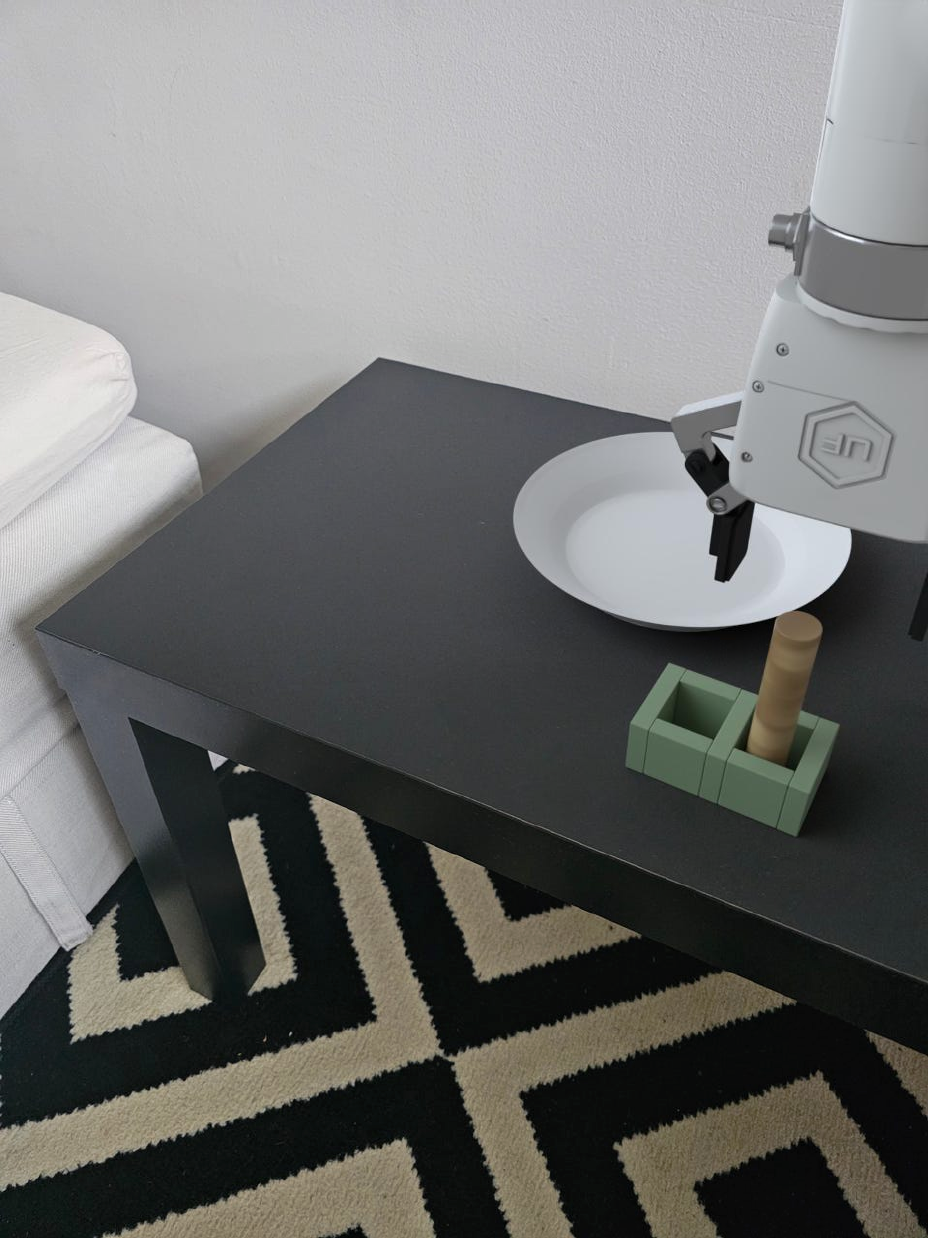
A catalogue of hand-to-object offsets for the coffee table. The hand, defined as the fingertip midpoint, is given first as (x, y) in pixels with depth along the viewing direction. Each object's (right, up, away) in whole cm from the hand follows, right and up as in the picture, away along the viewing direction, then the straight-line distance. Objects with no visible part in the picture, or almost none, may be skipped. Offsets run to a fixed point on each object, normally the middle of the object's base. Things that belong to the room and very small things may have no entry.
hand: (822, 594), depth 51 cm
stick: (0, -11, +10) cm, 15 cm away
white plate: (-2, +4, +28) cm, 28 cm away
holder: (-2, -10, +11) cm, 15 cm away
